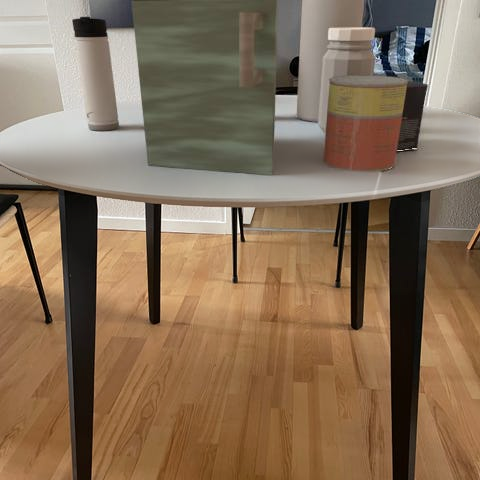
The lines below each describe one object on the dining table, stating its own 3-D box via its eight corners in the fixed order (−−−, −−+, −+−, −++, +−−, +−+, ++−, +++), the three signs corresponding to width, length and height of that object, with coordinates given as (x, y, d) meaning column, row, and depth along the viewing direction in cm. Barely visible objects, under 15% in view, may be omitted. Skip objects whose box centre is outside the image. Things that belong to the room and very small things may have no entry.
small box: (353, 141, 93) (359, 78, 87) (382, 138, 95) (391, 77, 89) (386, 153, 84) (396, 85, 79) (418, 150, 86) (430, 83, 81)
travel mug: (85, 131, 101) (67, 16, 91) (92, 125, 107) (75, 16, 96) (116, 131, 102) (101, 16, 91) (121, 125, 107) (108, 16, 97)
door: (261, 185, 68) (265, -3, 57) (131, 174, 74) (110, 0, 62) (273, 173, 74) (278, -1, 62) (150, 163, 79) (134, 1, 67)
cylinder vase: (335, 125, 106) (348, -17, 93) (285, 119, 112) (291, -15, 99) (361, 116, 114) (376, -15, 101) (313, 111, 121) (322, -13, 107)
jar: (309, 128, 103) (316, 27, 94) (351, 125, 106) (362, 27, 96) (330, 137, 95) (340, 28, 86) (375, 134, 98) (389, 28, 88)
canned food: (378, 153, 85) (389, 74, 78) (407, 170, 75) (421, 83, 69) (314, 155, 83) (320, 76, 77) (334, 174, 74) (343, 85, 67)
